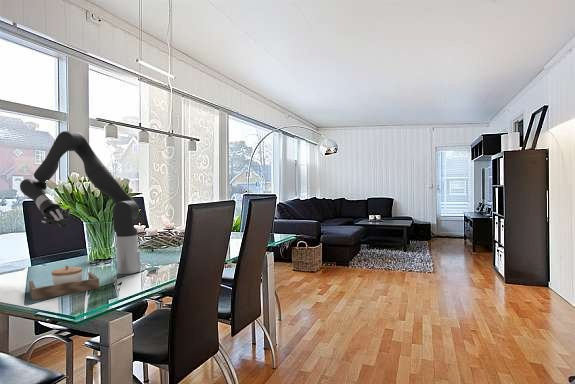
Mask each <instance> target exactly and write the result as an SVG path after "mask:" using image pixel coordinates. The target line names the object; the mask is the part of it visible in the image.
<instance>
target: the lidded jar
mask: <svg viewBox="0 0 575 384" xmlns="http://www.w3.org/2000/svg"><path fill="white" fill-rule="evenodd" d="M51 279H52V283H53V284H52V285H57V284H63V283H69V282H76V281H82V280H83V267H81V266H69V265H65V267H61V268H57V269H54V270H52V271H51Z"/></svg>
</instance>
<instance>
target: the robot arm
mask: <svg viewBox="0 0 575 384" xmlns="http://www.w3.org/2000/svg"><path fill="white" fill-rule="evenodd" d="M67 152H74V153H76V155H78V157H79V158H80V159H81V161H82V163H83V167H84V172H85V176H86V177H87V179H88V180H89V182H91V184H92V185H93V186H94V187H95V188H96V189H97V190H99V192H101V193H102V194H104V195H106V196H107V198H108V197H109V198H110V199H111V200H112V201H113V203H114V205H113V208H112V222H113V223H112V224H113V225H114V230H115V232H116V236H115V246H116V264H117V265H116V267H117V268H116V269H117V274H119V275H129V274H135V273H139V272H141V258H140V257H141V255H140V253H141V252H140V250H139V244H138V243H139V241H138V240H139V239H138V228H136V227H135V226H134V223H133V222H134V221H133V220H135V219H137V218H138V217H139V215H140V207H139V205H138V204H137V202H136V201H135V200H134V199H133V198H132V197H131V196H130V195H129V194H128V193H127V192H126V191H125V190H124V189H123V187H122V186H121V185H120V184H119V182H118V181H117V180H116V178H115V176H113V175H112V173H111V171H110V170H109V169H108V168H107V167H106V166H105V163H103V162H102V160H100V158H99V157H98V155H97V154H96V153H95V151H94V150H93V149H92V146H91V145H90V144H89V142H88V140H87V138H86V137H85V136H84V135H83V134H82V133H80V132H79V131H75V130H74V131H71V130H65V131H61V132H60V133H58V135H57V136H56V138H55V140H54V142H53V144H52V146H51V147H50V149H49V152H48V154H47V155H46V157H45V158H44V160H43V161H42V162H41V164H40V165H39V166H38V167H37V169H36V170H35V171H34V173H33V178H34V179H30V178H24V179H23V180H22V181H21V182H20V184H19V190H20V192H21V193H22V194H23V195H25V196H26V197H27V198H29V199H30V200H33V201H32V202H34V203H35V205H36V207H37V208H38V210H39V211H40V212H41V213H42V214H43V216H44V217H41V218H40V220H41V223H42V225H43V224H44V225H50V226H56V225H58V226H59V227H60V228H61V229H66V228H68V222H67V221H68V220H69V219H70V216H71V208H69V207H68V208H63V207H61V205H60V204H59V203H58V202H57V200H55V198H54V197H53V196H51V194H50V193H49V192H48V191H47V187H48V185H47V186H46V183H45V181H46V180H49V181H50V180H51V178H53V177H54V175H55V173H56V172H57V171H58V168H59V164H60V160H61V158H62V157H63V155H65V154H66V153H67Z"/></svg>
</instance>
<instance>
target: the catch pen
mask: <svg viewBox="0 0 575 384" xmlns="http://www.w3.org/2000/svg"><path fill="white" fill-rule="evenodd" d="M87 274H88V275H87V276H88V277H87V278H88V279H82V280H81V281H76V282H69V283H63V284H57V285H54V284H52V285H46V286H38V287H36V285H35V283H34V281H33V280H28V287H29V294H30V296H31V300H32V301H35V300H40V299H45V298H52V297H57V296H58V297H59V296H64V295H70V294H76V293H81V292H80V291H82V292H86V290H87V291H92V290H98V289H100V278H99V277H98V276H97V275H96V274H95V273H93V272H92V271H88V272H87ZM75 292H76V293H75Z"/></svg>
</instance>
